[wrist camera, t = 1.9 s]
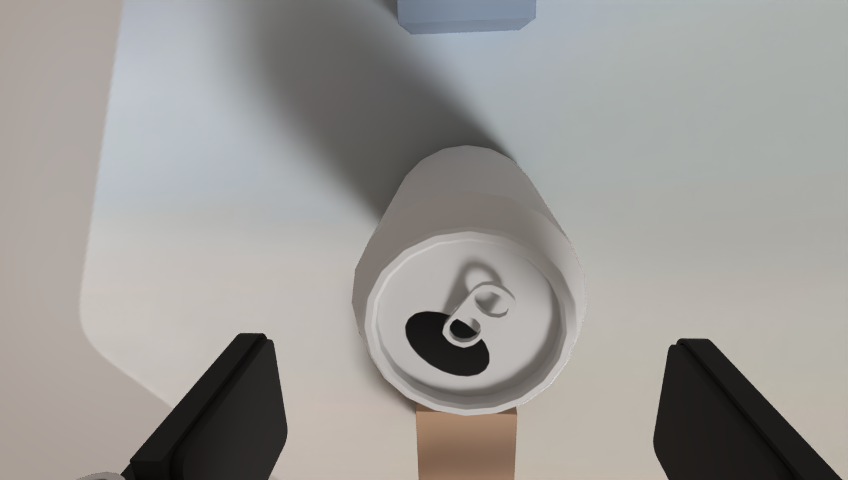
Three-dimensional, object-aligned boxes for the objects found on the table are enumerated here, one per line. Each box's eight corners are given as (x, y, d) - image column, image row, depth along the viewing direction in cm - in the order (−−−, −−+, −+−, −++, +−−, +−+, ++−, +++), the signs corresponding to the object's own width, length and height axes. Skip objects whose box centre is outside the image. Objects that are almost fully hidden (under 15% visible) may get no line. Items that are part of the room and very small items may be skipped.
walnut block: (424, 354, 28) (415, 411, 23) (508, 355, 27) (517, 414, 22) (426, 421, 29) (419, 487, 25) (505, 424, 29) (513, 491, 24)
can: (368, 227, 25) (292, 352, 14) (450, 111, 23) (438, 148, 11) (478, 302, 26) (490, 476, 15) (567, 199, 24) (662, 313, 12)
